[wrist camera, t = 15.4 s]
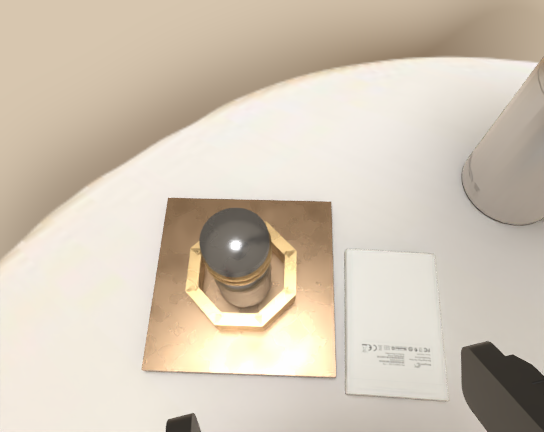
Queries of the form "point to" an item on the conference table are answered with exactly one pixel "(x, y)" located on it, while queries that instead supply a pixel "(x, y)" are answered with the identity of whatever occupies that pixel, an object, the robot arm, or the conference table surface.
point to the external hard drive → (393, 326)
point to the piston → (238, 255)
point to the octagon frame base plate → (254, 319)
